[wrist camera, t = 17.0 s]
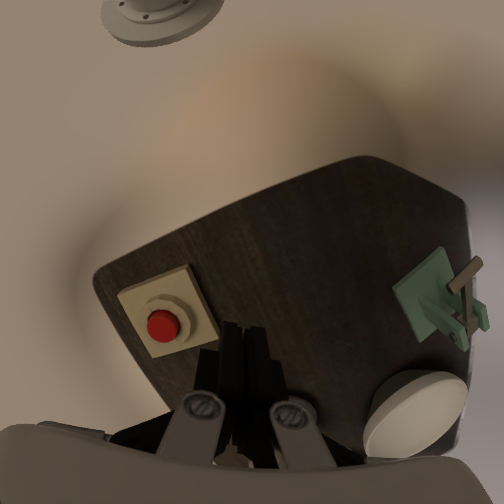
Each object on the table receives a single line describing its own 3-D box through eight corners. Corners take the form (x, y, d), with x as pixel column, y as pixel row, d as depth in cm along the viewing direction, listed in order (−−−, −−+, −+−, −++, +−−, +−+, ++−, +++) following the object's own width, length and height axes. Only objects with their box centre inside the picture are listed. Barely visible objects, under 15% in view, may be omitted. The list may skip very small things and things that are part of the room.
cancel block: (122, 289, 36) (111, 301, 32) (188, 263, 36) (182, 273, 32) (156, 350, 39) (149, 366, 35) (220, 330, 38) (218, 346, 34)
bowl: (439, 399, 45) (460, 427, 36) (355, 440, 46) (369, 475, 37) (442, 329, 40) (473, 357, 31) (340, 378, 41) (359, 420, 32)
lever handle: (441, 280, 25) (456, 292, 23) (471, 251, 25) (486, 261, 22) (449, 335, 31) (459, 346, 29) (474, 311, 30) (484, 321, 28)
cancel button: (145, 314, 33) (141, 321, 32) (170, 306, 33) (167, 312, 31) (158, 339, 34) (155, 346, 32) (183, 331, 34) (181, 338, 32)
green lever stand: (391, 287, 38) (437, 325, 26) (439, 245, 37) (492, 269, 25) (416, 339, 40) (455, 380, 29) (459, 301, 39) (503, 332, 28)
